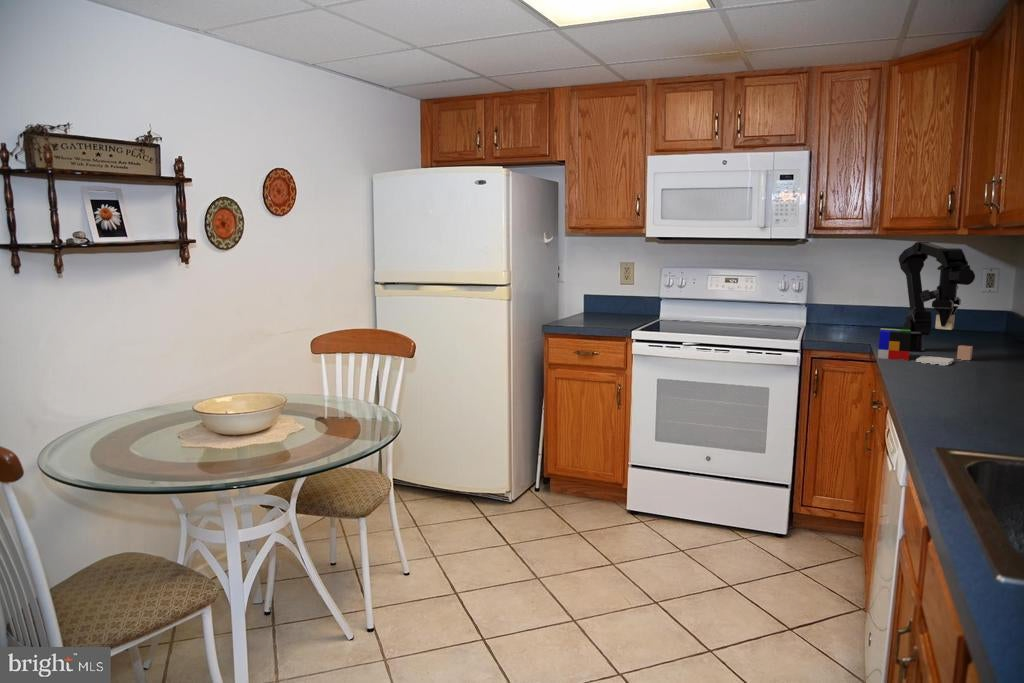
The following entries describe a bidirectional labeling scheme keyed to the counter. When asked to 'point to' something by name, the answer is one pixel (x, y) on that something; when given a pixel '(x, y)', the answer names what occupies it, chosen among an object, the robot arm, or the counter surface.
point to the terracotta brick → (964, 352)
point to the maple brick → (948, 325)
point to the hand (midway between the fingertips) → (944, 325)
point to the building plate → (935, 360)
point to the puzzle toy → (894, 344)
